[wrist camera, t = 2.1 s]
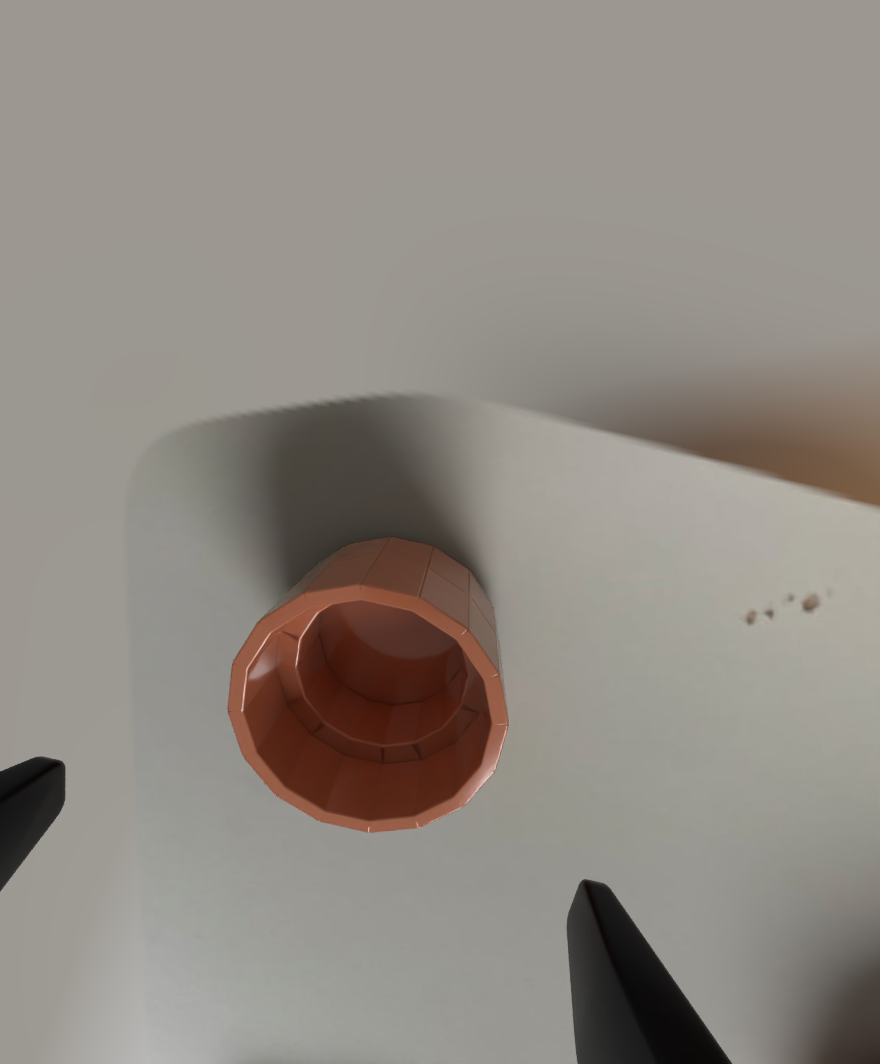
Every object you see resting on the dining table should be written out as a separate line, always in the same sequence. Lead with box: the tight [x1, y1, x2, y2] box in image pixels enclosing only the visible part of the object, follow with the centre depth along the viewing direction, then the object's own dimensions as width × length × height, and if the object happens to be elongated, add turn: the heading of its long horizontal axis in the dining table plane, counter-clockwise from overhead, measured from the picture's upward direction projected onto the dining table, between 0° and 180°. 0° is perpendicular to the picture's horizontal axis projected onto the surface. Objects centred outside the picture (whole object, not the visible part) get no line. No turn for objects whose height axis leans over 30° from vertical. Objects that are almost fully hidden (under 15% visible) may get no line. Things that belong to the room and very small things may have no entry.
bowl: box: [228, 537, 509, 833], centre depth 13 cm, size 7×7×4 cm
